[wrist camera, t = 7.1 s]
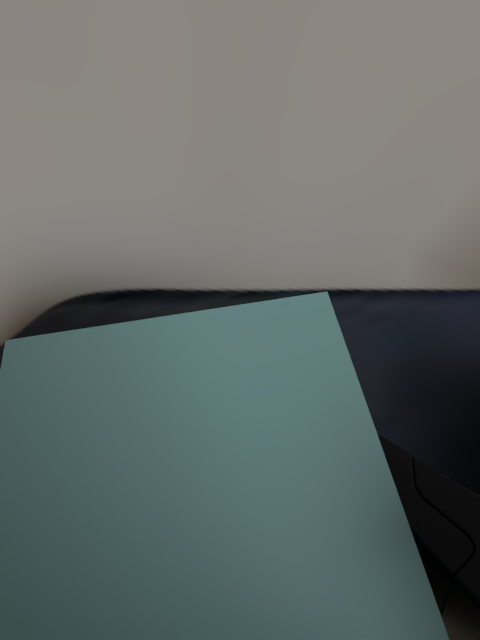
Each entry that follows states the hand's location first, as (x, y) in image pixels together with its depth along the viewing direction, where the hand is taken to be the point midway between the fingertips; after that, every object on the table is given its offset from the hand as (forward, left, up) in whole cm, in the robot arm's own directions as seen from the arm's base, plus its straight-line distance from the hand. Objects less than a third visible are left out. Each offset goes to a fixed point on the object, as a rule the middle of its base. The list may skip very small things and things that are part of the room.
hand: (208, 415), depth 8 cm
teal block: (-2, 0, -4) cm, 5 cm away
